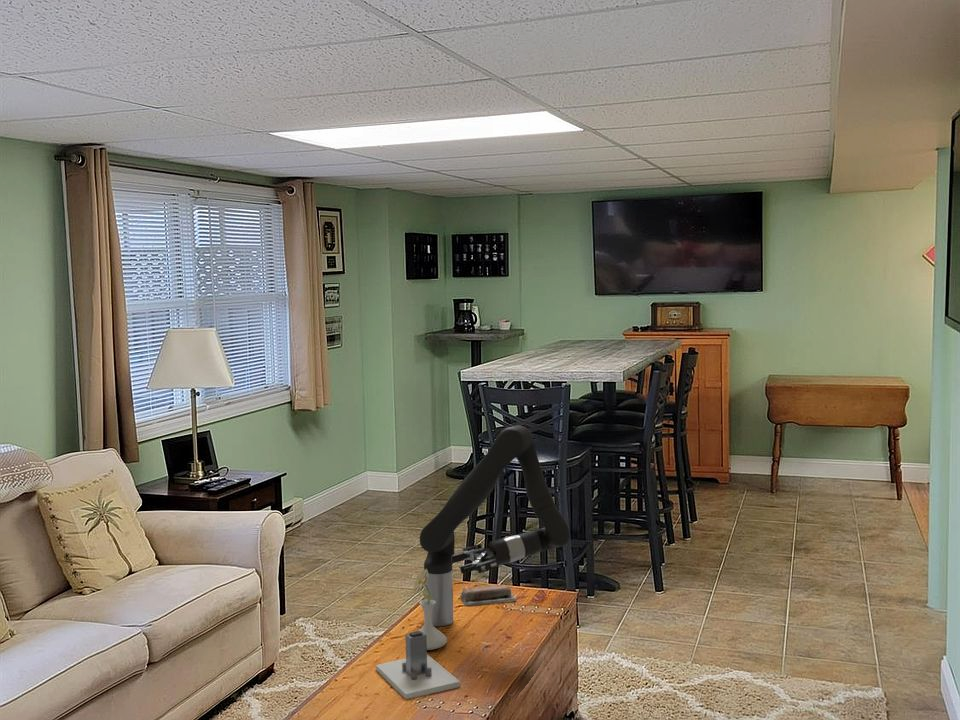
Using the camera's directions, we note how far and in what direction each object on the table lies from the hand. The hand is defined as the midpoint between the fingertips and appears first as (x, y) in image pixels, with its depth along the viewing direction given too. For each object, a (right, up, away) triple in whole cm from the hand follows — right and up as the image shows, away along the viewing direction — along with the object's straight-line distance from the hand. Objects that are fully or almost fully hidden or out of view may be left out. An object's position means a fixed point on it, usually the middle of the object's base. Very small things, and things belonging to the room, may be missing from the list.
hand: (456, 564), depth 279 cm
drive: (-11, -27, -15) cm, 32 cm away
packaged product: (+10, -24, +50) cm, 56 cm away
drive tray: (-11, -29, -14) cm, 34 cm away
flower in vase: (-9, -27, +8) cm, 29 cm away
